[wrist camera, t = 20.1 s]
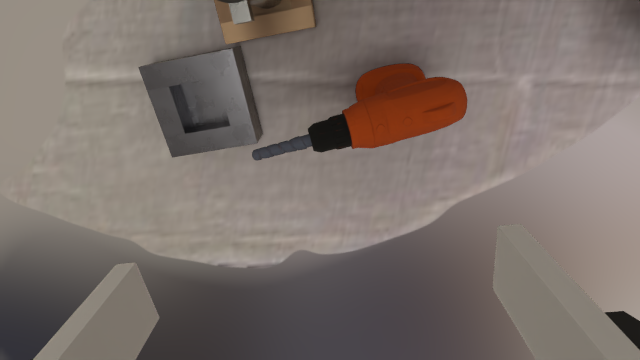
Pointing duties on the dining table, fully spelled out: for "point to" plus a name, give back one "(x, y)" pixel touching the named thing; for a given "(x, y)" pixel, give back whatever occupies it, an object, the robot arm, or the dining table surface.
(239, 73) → the block
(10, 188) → the dining table surface
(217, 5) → the wooden square frame
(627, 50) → the dining table surface
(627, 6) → the dining table surface
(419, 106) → the toy drill
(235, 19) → the dark grey tall piece
